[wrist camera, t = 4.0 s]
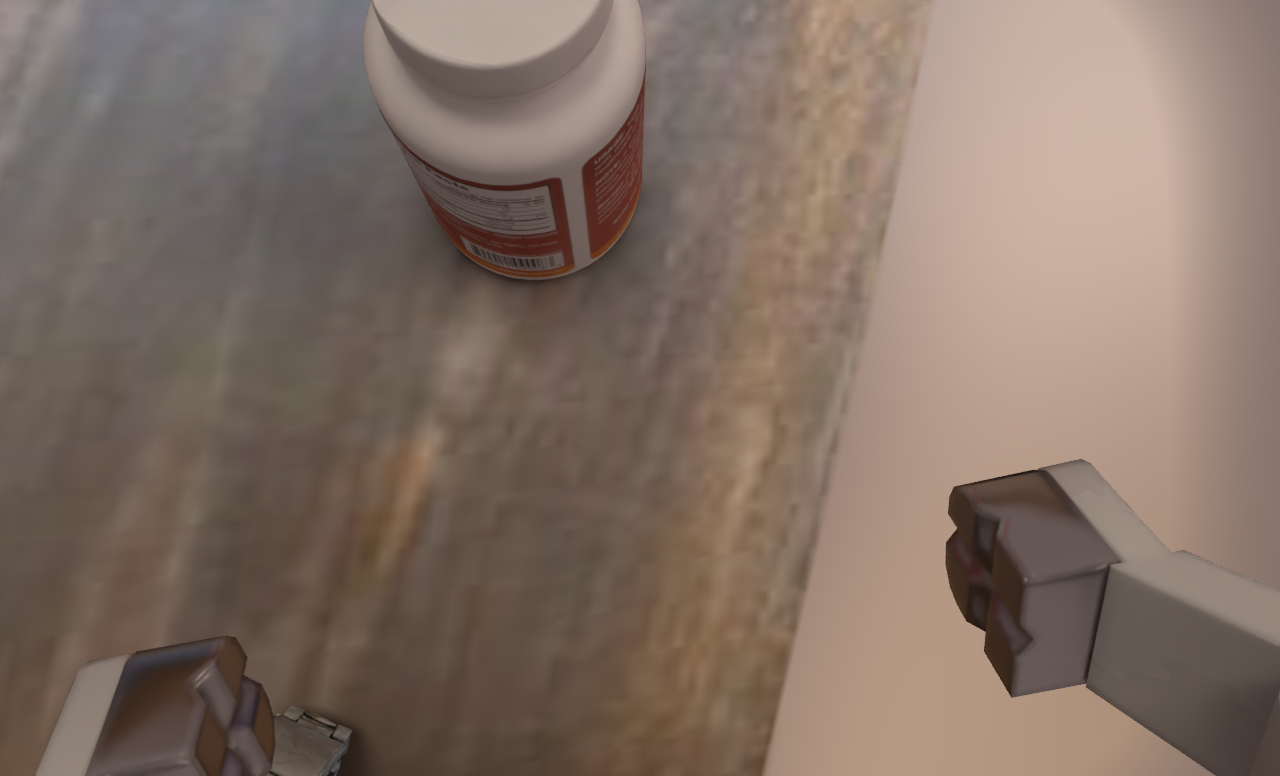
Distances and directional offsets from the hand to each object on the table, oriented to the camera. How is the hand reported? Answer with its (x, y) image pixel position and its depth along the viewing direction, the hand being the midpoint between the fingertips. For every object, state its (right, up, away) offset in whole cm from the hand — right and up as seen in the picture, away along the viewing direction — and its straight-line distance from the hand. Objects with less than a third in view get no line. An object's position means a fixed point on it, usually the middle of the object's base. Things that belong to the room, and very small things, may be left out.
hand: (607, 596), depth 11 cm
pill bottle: (-3, +8, +18) cm, 20 cm away
